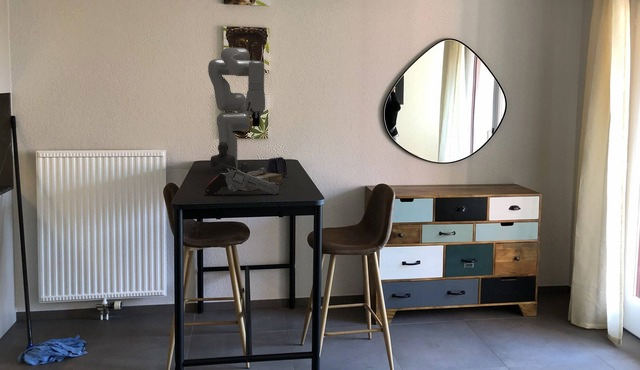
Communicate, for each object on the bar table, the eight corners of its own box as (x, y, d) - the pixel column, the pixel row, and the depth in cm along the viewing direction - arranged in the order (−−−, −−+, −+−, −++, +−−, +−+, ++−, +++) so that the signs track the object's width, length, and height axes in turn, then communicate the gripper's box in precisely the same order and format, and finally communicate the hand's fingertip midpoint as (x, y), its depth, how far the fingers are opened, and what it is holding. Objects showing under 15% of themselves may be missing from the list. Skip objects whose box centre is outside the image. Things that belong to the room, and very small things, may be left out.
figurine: (209, 185, 318) (208, 142, 315) (211, 183, 325) (210, 141, 322) (235, 185, 318) (235, 142, 315) (237, 183, 326) (236, 141, 323)
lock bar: (262, 172, 326) (262, 160, 326) (267, 173, 325) (267, 161, 324) (240, 176, 315) (240, 163, 314) (245, 177, 313) (245, 163, 312)
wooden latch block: (224, 188, 310) (224, 177, 309) (258, 181, 332) (258, 171, 332) (249, 191, 303) (249, 180, 302) (282, 183, 325) (282, 173, 324)
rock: (274, 179, 340) (274, 158, 339) (266, 178, 344) (266, 157, 342) (288, 177, 348) (288, 156, 347) (280, 176, 351) (280, 156, 350)
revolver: (204, 191, 295) (217, 159, 293) (267, 215, 299) (280, 184, 298) (203, 192, 291) (216, 160, 290) (268, 217, 296) (281, 185, 294)
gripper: (259, 86, 332) (259, 124, 335) (240, 87, 320) (239, 126, 323) (271, 87, 328) (271, 125, 331) (252, 88, 316) (252, 128, 319)
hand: (255, 126), depth 327 cm, fingers closed
